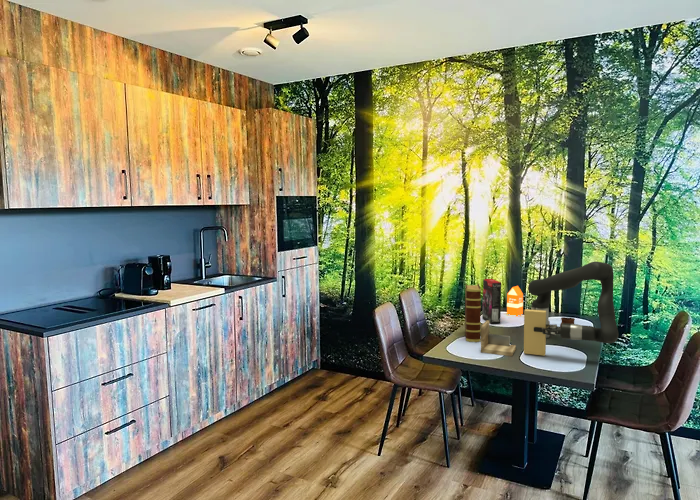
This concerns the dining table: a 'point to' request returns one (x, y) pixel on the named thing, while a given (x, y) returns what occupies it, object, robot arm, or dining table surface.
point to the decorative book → (472, 312)
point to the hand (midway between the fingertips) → (534, 328)
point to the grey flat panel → (499, 339)
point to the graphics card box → (491, 301)
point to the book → (534, 340)
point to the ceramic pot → (567, 320)
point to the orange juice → (515, 301)
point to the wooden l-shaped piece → (491, 347)
